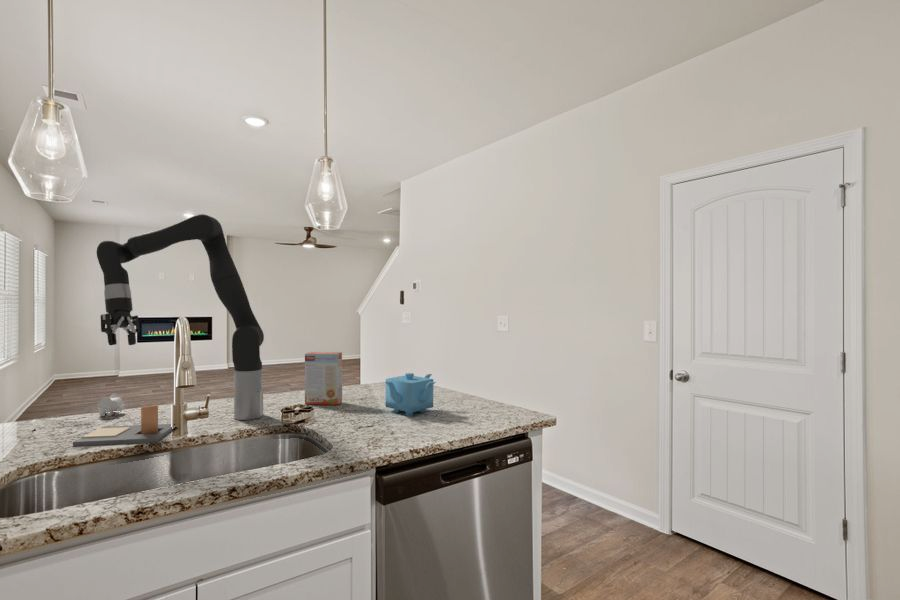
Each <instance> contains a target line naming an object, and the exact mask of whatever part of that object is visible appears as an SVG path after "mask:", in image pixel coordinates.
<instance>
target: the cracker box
mask: <svg viewBox="0 0 900 600" xmlns="http://www.w3.org/2000/svg"><path fill="white" fill-rule="evenodd" d="M342 402H343V351H342V352H340V351H339V352H337V351H336V352H333V351H330V352H329V351H310V352H306V353H304V404H305V405H326V406H328V405H329V406H338V405H340V404H341V403H342Z"/></svg>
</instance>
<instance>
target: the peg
mask: <svg viewBox="0 0 900 600" xmlns="http://www.w3.org/2000/svg"><path fill="white" fill-rule="evenodd" d="M158 424H159V405H158V404H148V405H143V406H141V407H140V425H141V434H156V433H158Z"/></svg>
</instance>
